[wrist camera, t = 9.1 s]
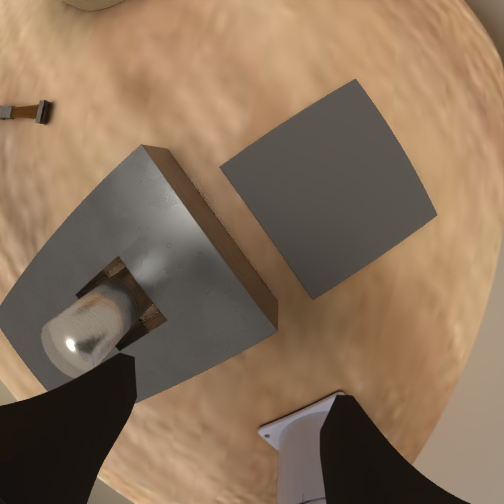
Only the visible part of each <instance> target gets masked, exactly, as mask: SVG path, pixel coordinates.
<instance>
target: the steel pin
mask: <svg viewBox="0 0 504 504" xmlns="http://www.w3.org/2000/svg"><path fill="white" fill-rule="evenodd" d="M152 304H153V301H152V300H151V299H150V298H149V296H148V295H147V294H146V292H145V291H144V290H143V288H142V287H141V286H140V284H139V283H138V282H137V280H136V279H135V278H134V276H133V275H132V274H131V272H130V271H129V270H128V268H127V267H125V268H124V269H122V270H121V271H119V272H118V273H116V274H115V275H113V276H112V277H110V278H109V279H107V280H106V281H105V282H103V283H102V284H100V285H99V286H97V287H96V288H94V289H93V290H92V291H90V292H89V293H87V294H86V295H84V296H83V297H82V298H80V299H79V300H77V301H76V302H75V303H73V304H72V305H70V306H69V307H68V308H66V309H65V310H64V311H62V312H61V313H59V314H58V315H57V316H55V317H54V318H53V319H51V320H50V321H49V322H47V323H46V324H45V325H44V326H43V328H42V332H41V339H42V344H43V347H44V350H45V352H46V354H47V356H48V357H49V359H50V360H51V362H52V363H53V364H54V365H55V366H56V367H57V368H58V369H59V370H60V371H62V372H63V373H64V374H66V375H68V376H70V377H72V378H77V377H79V376H81V375H82V374H84V373H86V372H88V371H89V370H91V369H93V368H94V367H96V366H98V365H99V364H100V362H101V361H102V360H103V359H104V358H105V357H106V355H107V354H108V353H109V352H110V351H111V350H112V349H113V347H114V346H115V345H116V344H117V343H118V342H119V341H120V339H121V338H122V337H123V336H124V335H125V334H126V333H127V332H128V330H129V329H130V328H131V327H132V326H133V325H134V324H135V323H136V321H137V320H138V319H139V318H140V317H141V316H142V315H143V314H144V313H145V311H146V310H147V309H148V308H149V307H150V306H151V305H152Z"/></svg>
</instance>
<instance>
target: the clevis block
mask: <svg viewBox="0 0 504 504" xmlns="http://www.w3.org/2000/svg"><path fill="white" fill-rule="evenodd" d="M121 261H123V263H124V264H125V265H126V267H127V268H128V270H129V271H130V272H131V274H132V275H133V276H134V278H135V279H136V280H137V282H138V283H139V284H140V286H141V287H142V288H143V290H144V291H145V292H146V294H147V295H148V296H149V298H150V299H151V300H152V301H153V303H154V304H155V305H156V307H157V308H158V309H159V310H160V312H159V313H158V314H156V315H155V316H153V317H152V318H150V319H149V320H147V321H146V322H144V323H142V322H141V321H140V320H139V319H138V320H137V321H136V323H135V324H134V325H133V326H132V327H131V328H130V329H129V330H128V332H127V333H126V334H125V335H124V336H123V337H122V338H121V339H120V341H119V342H118V343H117V344H116V345H115V346H114V347H113V349H112V350H111V351H110V352H109V353H108V354H107V355H106V357H105V358H104V359H103V360H102V361H101V362H100V364H101V363H103V362H104V361H106V360H108V359H109V358H111V357H113V356H114V355H116V354H118V353H123V354H127V355H130V356H133V357H135V372H136V387H137V399H136V401H135V403H138V402H140V401H142V400H144V399H147V398H149V397H151V396H153V395H155V394H158V393H160V392H162V391H164V390H166V389H168V388H171V387H173V386H175V385H177V384H179V383H181V382H183V381H185V380H187V379H189V378H191V377H193V376H195V375H198V374H200V373H202V372H204V371H206V370H208V369H209V368H211V367H213V366H215V365H217V364H219V363H221V362H223V361H225V360H227V359H229V358H231V357H233V356H235V355H236V354H238V353H240V352H242V351H244V350H246V349H248V348H249V347H251V346H253V345H255V344H257V343H259V342H260V341H262V340H264V339H266V338H268V337H269V336H271V335H273V334H275V333H276V332H278V301H277V300H276V299H275V297H274V296H273V294H272V293H271V292H270V290H269V289H268V288H267V286H266V285H265V283H264V282H263V281H262V279H261V278H260V277H259V275H258V274H257V272H256V271H255V270H254V268H253V267H252V266H251V264H250V263H249V261H248V260H247V259H246V257H245V256H244V255H243V253H242V252H241V250H240V249H239V248H238V246H237V245H236V243H235V242H234V241H233V239H232V238H231V237H230V235H229V234H228V232H227V231H226V230H225V228H224V227H223V225H222V224H221V223H220V221H219V220H218V219H217V217H216V216H215V214H214V213H213V212H212V210H211V209H210V207H209V206H208V205H207V203H206V202H205V200H204V199H203V198H202V196H201V195H200V193H199V192H198V191H197V189H196V188H195V187H194V185H193V184H192V182H191V181H190V180H189V178H188V177H187V175H186V174H185V173H184V171H183V170H182V168H181V167H180V166H179V164H178V163H177V161H176V160H175V159H174V157H173V156H172V154H171V153H170V151H169V150H168V149H164V148H159V147H153V146H147V145H142V144H141V145H140V146H139V147H138V148H137V149H136V150H134V151H133V152H132V153H131V154H130V155H129V156H128V157H127V158H126V159H125V160H124V161H122V162H121V163H120V164H119V165H118V166H117V167H116V168H115V169H114V170H113V171H112V172H111V173H110V174H109V175H108V176H107V177H106V178H105V179H104V180H103V181H102V182H101V183H100V184H99V185H98V186H97V187H96V188H95V189H94V190H93V191H92V192H91V193H90V194H89V195H88V196H87V197H86V198H85V199H84V200H83V201H82V202H81V204H80V205H79V206H78V207H77V208H76V209H75V210H74V211H73V212H72V213H71V215H70V216H69V217H68V218H67V219H66V220H65V221H64V222H63V224H62V225H61V226H60V227H59V228H58V229H57V231H56V232H55V233H54V234H53V235H52V236H51V238H50V239H49V240H48V241H47V243H46V244H45V245H44V246H43V247H42V249H41V250H40V251H39V253H38V254H37V255H36V256H35V258H34V259H33V260H32V262H31V263H30V264H29V265H28V267H27V268H26V269H25V271H24V272H23V274H22V275H21V276H20V278H19V279H18V280H17V282H16V283H15V285H14V286H13V288H12V289H11V290H10V292H9V293H8V295H7V296H6V298H5V299H4V301H3V302H2V304H1V305H0V328H1V330H2V332H3V333H4V335H5V336H6V338H7V339H8V340H9V342H10V343H11V345H12V346H13V348H14V349H15V350H16V352H17V353H18V355H19V356H20V357H21V359H22V360H23V361H24V363H25V364H26V365H27V367H28V368H29V369H30V370H31V372H32V373H33V374H34V376H35V377H36V378H37V379H38V380H39V382H40V383H41V384H42V385H43V386H44V388H45V389H46V390H47V391H51V390H53V389H55V388H57V387H59V386H61V385H63V384H65V383H67V382H69V381H71V380H73V379H75V378H72V377H70V376H68V375H66V374H64V373H63V372H62V371H60V370H59V369H58V368H57V367H56V366H55V365H54V364H53V363H52V362H51V360H50V359H49V357H48V356H47V354H46V352H45V350H44V347H43V344H42V339H41V332H42V328H43V326H44V325H45V324H46V323H47V322H49V321H50V320H51V319H53V318H54V317H55V316H57V315H58V314H59V313H61V312H62V311H64V310H65V309H66V308H68V307H69V306H70V305H72V304H73V303H75V302H76V301H77V300H79V299H80V298H82V297H83V296H84V295H86V294H87V293H89V292H90V291H92V290H93V289H94V288H96V287H97V286H99V285H100V284H102V283H103V282H105V281H106V280H107V279H108V277H107V276H106V274H107V273H108V272H109V271H110V270H111V269H112V268H114V267H115V266H116V265H117V264H118V263H119V262H121Z"/></svg>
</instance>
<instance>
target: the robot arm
mask: <svg viewBox="0 0 504 504" xmlns="http://www.w3.org/2000/svg"><path fill="white" fill-rule="evenodd" d="M136 399H137V387H136V372H135V357H133V356H130V355H127V354H123V353H118V354H116V355H114V356H113V357H111V358H109V359H108V360H106V361H104V362H103V363H101V364H99V365H98V366H96V367H94V368H93V369H91V370H89V371H88V372H86V373H84V374H82V375H81V376H79V377H77V378H75V379H73V380H71V381H69V382H67V383H65V384H63V385H61V386H59V387H57V388H55V389H53V390H51V391H48V392H46V393H43V394H41V395H38V396H35V397H32V398H29V399H26V400H22V401H19V402H15V403H11V404H7V405H2V406H0V504H87V501H88V498H89V496H90V493H91V490H92V487H93V485H94V482H95V480H96V477H97V475H98V472H99V470H100V468H101V466H102V464H103V462H104V460H105V458H106V456H107V455H108V453H109V451H110V450H111V448H112V446H113V444H114V443H115V441H116V439H117V438H118V436H119V434H120V432H121V431H122V429H123V427H124V425H125V424H126V422H127V420H128V418H129V416H130V414H131V411H132V409H133V406H134V404H135V401H136ZM258 434H259V435H260V436H261V437H262V438H263V439H265V440H266V441H267V442H268V443H269V444H270V445H271V446H272V447H274V448H275V449H276V450H277V451H278V483H277V504H470V503H468V502H465V501H463V500H461V499H459V498H457V497H455V496H454V495H452V494H450V493H448V492H447V491H445V490H444V489H442V488H440V487H439V486H437V485H436V484H435V483H433V482H432V481H430V480H429V479H428V478H426V477H425V476H424V475H422V474H421V473H420V472H419V471H418V470H416V469H415V468H414V467H413V466H412V465H411V464H410V463H409V462H408V461H407V460H405V459H404V458H403V457H402V456H401V455H400V453H399V452H398V451H397V450H396V449H395V448H394V447H393V446H392V445H391V444H390V443H389V441H388V440H387V439H386V438H385V437H384V436H383V434H382V433H381V432H380V431H379V429H378V428H377V427H376V426H375V424H374V423H373V422H372V421H371V419H370V418H369V417H368V415H367V414H366V413H365V411H364V410H363V409H362V407H361V406H360V405H359V403H358V402H357V401H356V399H355V398H354V397H353V396H350V395H345V394H344V393H343V392H337V393H335V394H333V395H331V396H329V397H327V398H325V399H323V400H321V401H319V402H317V403H315V404H313V405H311V406H308V407H306V408H304V409H302V410H300V411H298V412H295V413H293V414H291V415H289V416H286V417H284V418H282V419H279V420H277V421H275V422H272V423H270V424H267V425H265V426H262V427H260V428H259V429H258ZM266 434H269V435H266Z"/></svg>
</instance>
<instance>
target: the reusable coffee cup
mask: <svg viewBox="0 0 504 504" xmlns="http://www.w3.org/2000/svg"><path fill="white" fill-rule="evenodd" d="M59 1H62V2H64V3H67V4H69V5H72V6H74V7H76V8H79V9H81V10H85V11H96V10H101V9H105V8H108V7H111V6H114V5H116V4H118V3H120V2H122V1H124V0H59Z"/></svg>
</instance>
